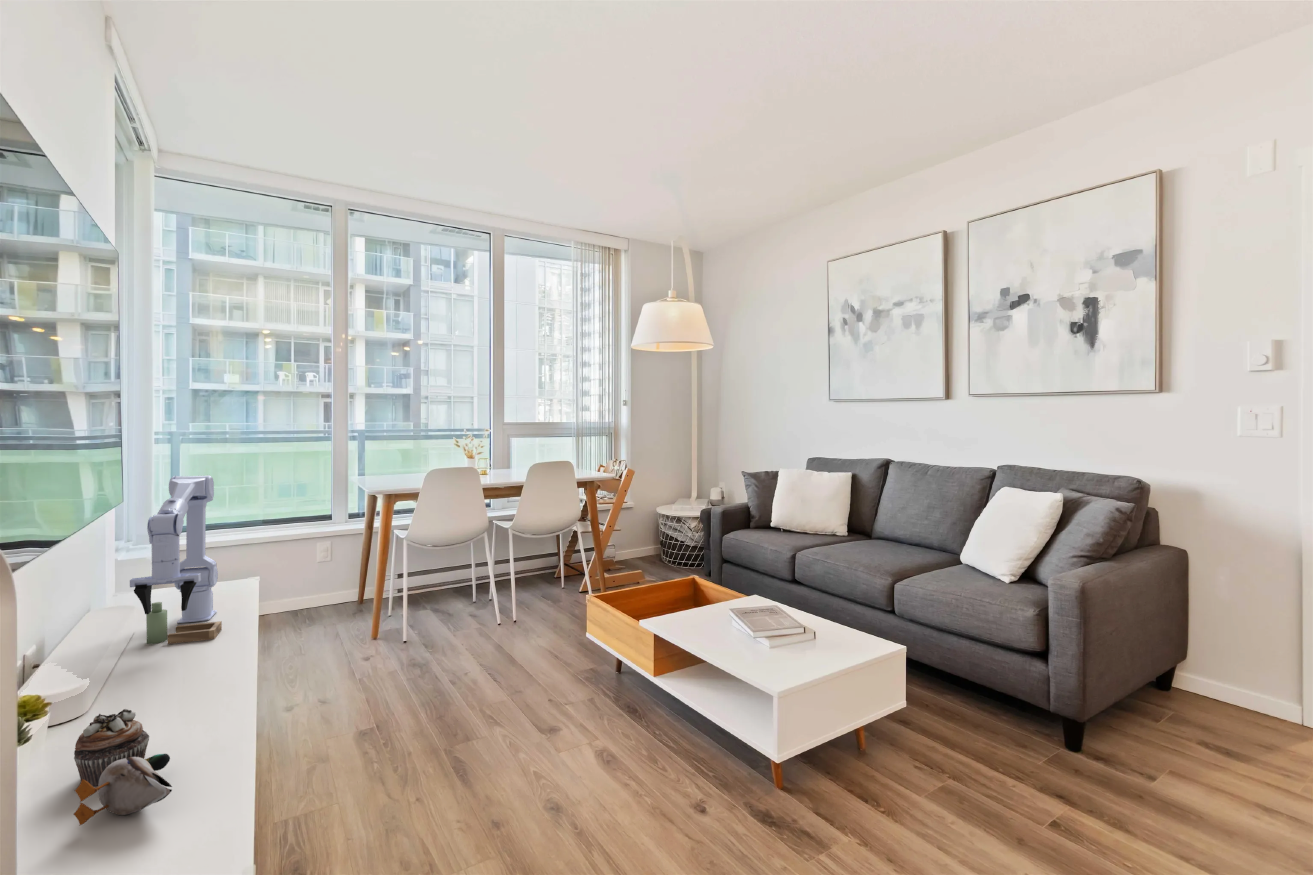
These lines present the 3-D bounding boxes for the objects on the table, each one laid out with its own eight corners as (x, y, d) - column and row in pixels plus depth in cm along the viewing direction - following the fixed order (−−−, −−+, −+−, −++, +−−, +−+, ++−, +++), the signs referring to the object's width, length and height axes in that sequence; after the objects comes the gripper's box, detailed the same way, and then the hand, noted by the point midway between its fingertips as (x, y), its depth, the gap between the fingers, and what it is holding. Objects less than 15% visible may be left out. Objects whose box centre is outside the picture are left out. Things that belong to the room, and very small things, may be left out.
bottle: (149, 639, 168) (149, 601, 168) (169, 637, 170) (169, 600, 170) (144, 644, 164) (143, 606, 164) (164, 642, 166) (164, 604, 166)
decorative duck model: (148, 733, 105) (229, 735, 104) (146, 779, 105) (228, 781, 103) (54, 774, 90) (148, 777, 89) (51, 828, 90) (145, 831, 88)
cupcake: (69, 797, 98) (68, 734, 98) (79, 769, 106) (78, 711, 105) (147, 777, 103) (146, 718, 103) (151, 752, 111) (151, 697, 111)
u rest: (177, 634, 172) (177, 625, 172) (221, 629, 177) (221, 621, 176) (167, 644, 165) (167, 634, 165) (214, 638, 169) (214, 629, 169)
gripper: (124, 565, 154) (125, 619, 154) (195, 560, 160) (195, 612, 160) (135, 559, 160) (135, 611, 160) (202, 555, 166) (203, 605, 166)
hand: (166, 611), depth 161 cm, fingers open, 7 cm apart
